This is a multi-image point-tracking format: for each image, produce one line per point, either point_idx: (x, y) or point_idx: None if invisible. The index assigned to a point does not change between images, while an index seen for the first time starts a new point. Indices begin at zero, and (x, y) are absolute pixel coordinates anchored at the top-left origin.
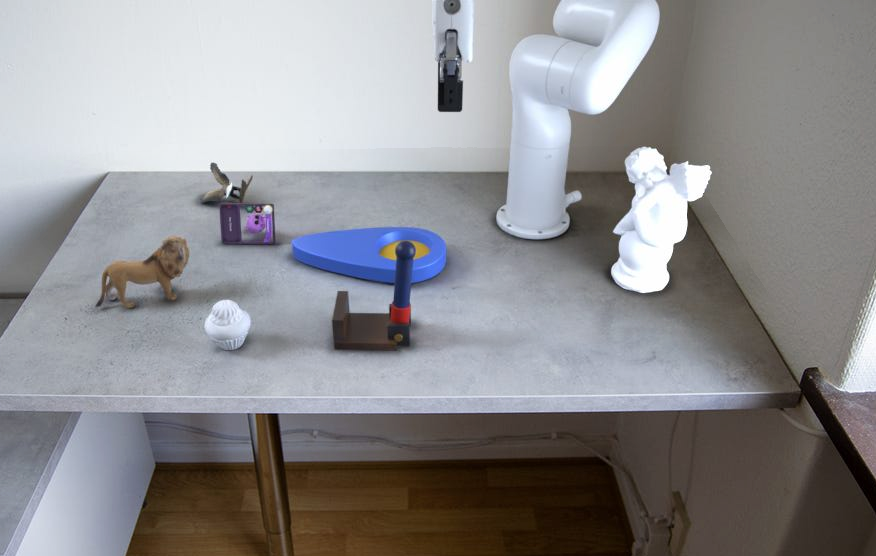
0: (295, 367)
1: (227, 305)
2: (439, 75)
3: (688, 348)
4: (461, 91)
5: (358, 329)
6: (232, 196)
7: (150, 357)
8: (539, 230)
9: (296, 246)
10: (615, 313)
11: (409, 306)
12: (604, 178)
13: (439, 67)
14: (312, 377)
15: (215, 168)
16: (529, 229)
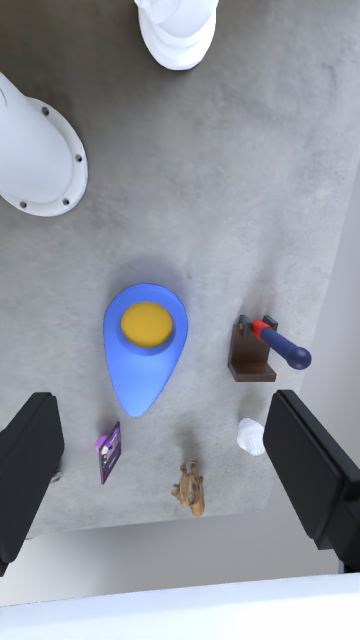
0: (276, 386)
1: (260, 449)
2: (48, 480)
3: (327, 7)
4: (333, 443)
5: (252, 354)
6: None
7: (252, 457)
8: (74, 158)
9: (142, 412)
10: (249, 93)
11: (270, 327)
12: None
13: (34, 515)
14: (288, 375)
15: None
16: (73, 173)
